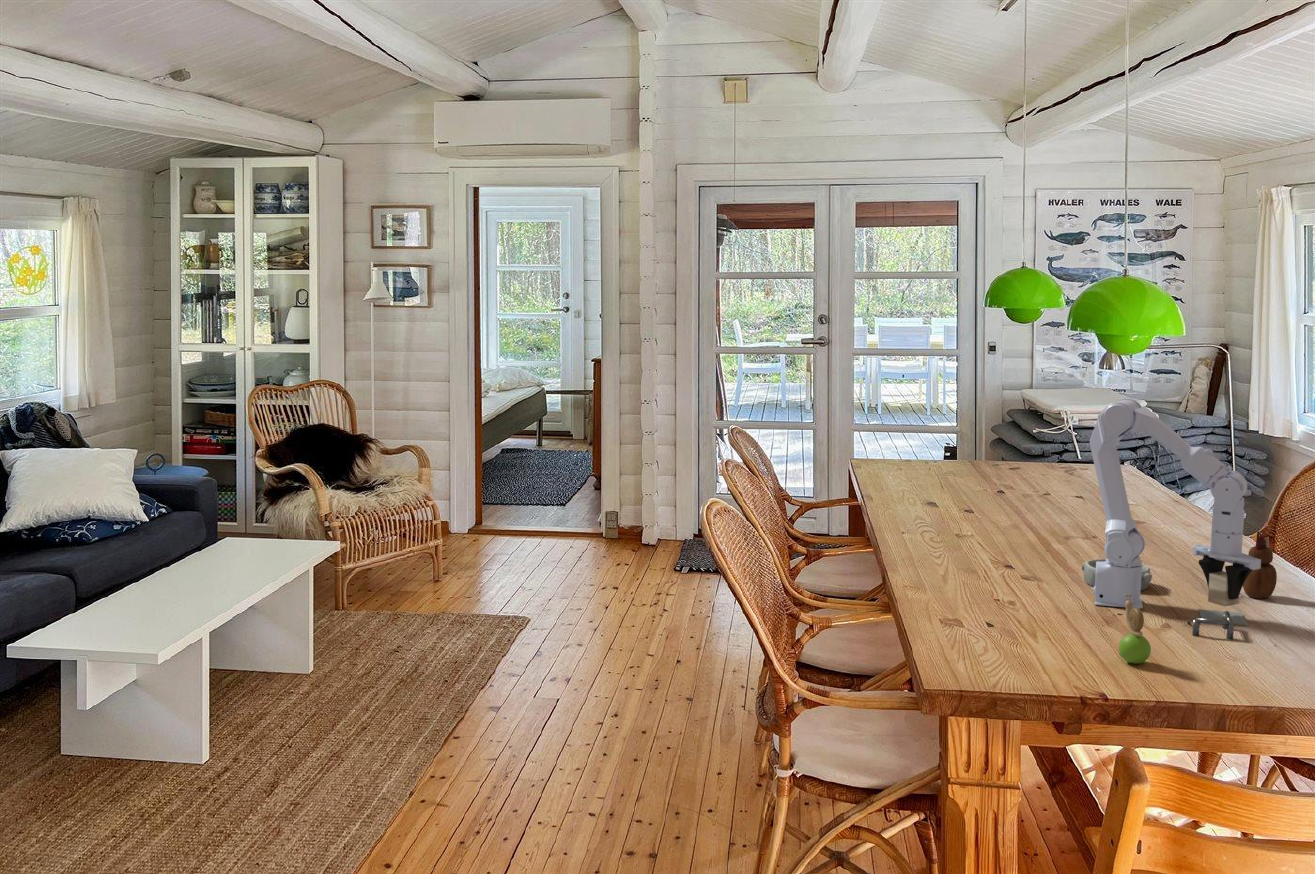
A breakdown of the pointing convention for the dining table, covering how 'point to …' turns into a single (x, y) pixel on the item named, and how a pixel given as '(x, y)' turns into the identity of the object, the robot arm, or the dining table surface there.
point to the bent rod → (1225, 622)
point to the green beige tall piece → (1134, 636)
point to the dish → (1090, 565)
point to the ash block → (1219, 589)
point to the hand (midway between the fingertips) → (1223, 595)
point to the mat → (1218, 615)
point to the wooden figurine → (1261, 572)
